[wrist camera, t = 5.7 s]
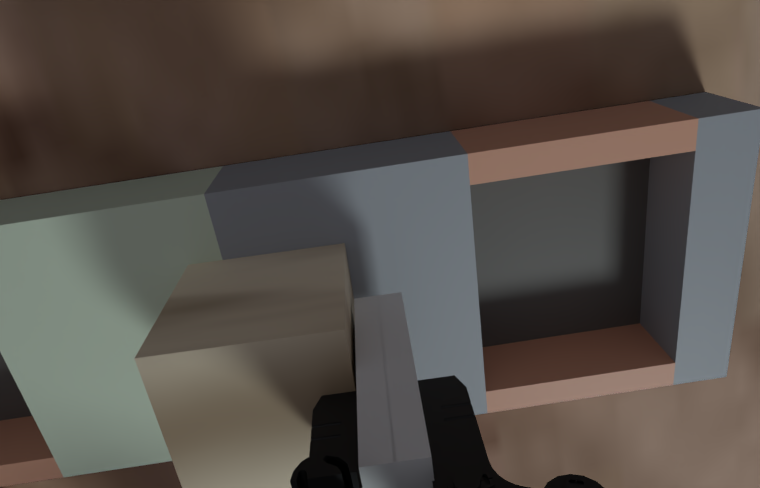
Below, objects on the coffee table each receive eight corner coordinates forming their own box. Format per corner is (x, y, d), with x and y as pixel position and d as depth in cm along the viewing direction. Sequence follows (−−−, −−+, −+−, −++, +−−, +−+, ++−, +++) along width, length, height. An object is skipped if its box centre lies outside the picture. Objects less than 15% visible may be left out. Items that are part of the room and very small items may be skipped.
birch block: (366, 371, 20) (372, 484, 15) (225, 390, 20) (190, 508, 15) (344, 243, 18) (344, 329, 13) (188, 264, 18) (134, 358, 13)
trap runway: (682, 332, 24) (726, 376, 21) (-115, 453, 24) (-175, 513, 21) (705, 92, 20) (764, 108, 17) (-258, 239, 20) (-355, 279, 17)
